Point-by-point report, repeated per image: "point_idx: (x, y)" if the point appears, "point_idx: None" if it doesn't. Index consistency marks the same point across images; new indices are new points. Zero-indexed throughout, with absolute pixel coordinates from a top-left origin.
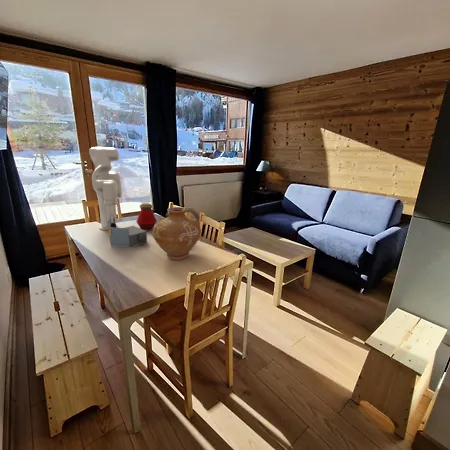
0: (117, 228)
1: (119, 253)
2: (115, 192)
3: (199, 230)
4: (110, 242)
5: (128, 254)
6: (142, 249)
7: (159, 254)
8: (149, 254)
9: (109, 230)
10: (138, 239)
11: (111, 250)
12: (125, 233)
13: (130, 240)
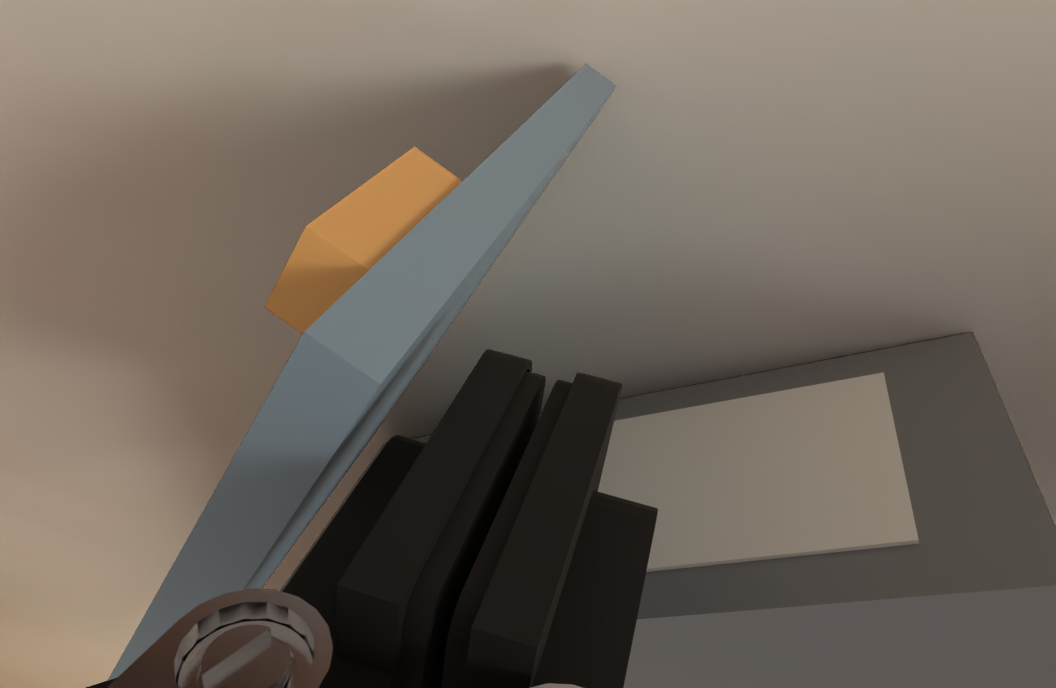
0: (148, 621)
1: (117, 172)
2: None
3: None
4: (563, 87)
5: (54, 308)
6: None
7: (19, 641)
8: (28, 555)
9: (292, 259)
10: None
11: (314, 33)
12: None
13: (311, 549)
